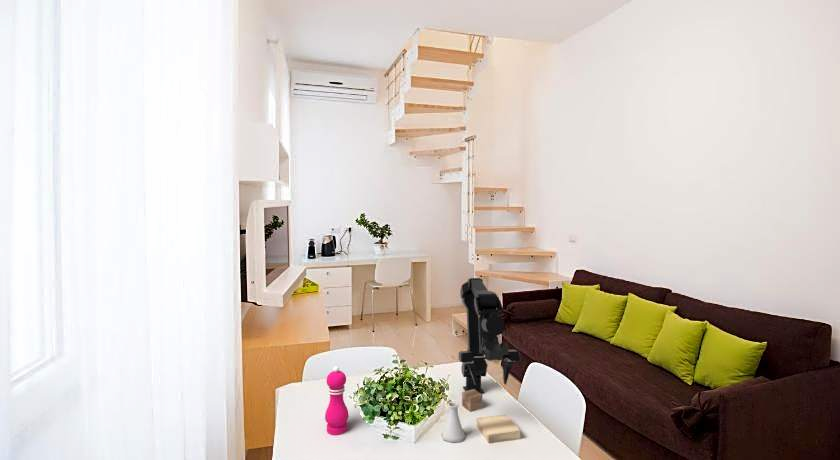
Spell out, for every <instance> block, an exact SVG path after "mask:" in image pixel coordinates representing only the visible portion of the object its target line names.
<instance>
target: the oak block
mask: <svg viewBox="0 0 840 460" xmlns="http://www.w3.org/2000/svg"><path fill="white" fill-rule="evenodd" d="M476 427H477V429H478V430H479V431H480V433H481V434H482V436H483V437H484V439H485V440H486V442H487V443H488V444H494V443H495V444H496V443H503V442H508V441H516V440H521V430H520V428H519V427H518V426H517V425H516V424H515V423H514V422H513V420H511V418H509V416H508V414H499V415H491V416H483V417H476Z"/></svg>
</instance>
